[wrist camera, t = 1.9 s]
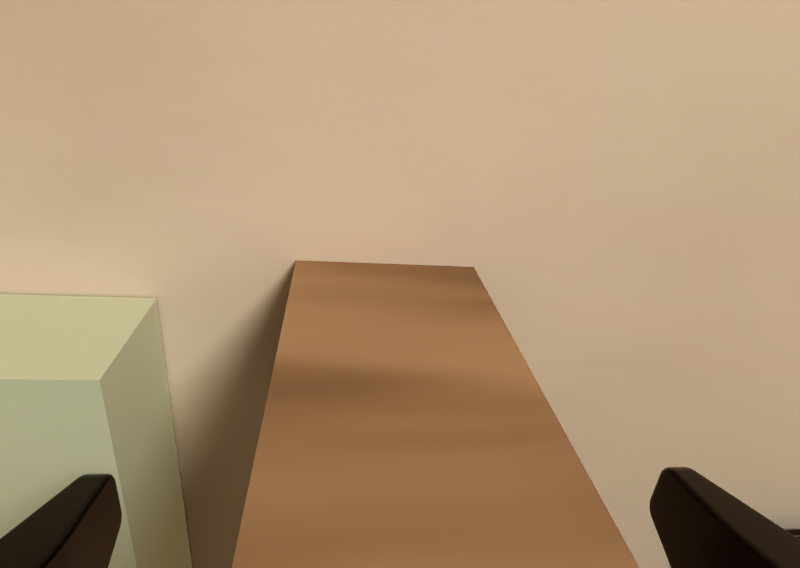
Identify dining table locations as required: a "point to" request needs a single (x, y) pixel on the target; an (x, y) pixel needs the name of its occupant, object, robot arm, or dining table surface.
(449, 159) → the dining table surface
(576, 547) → the walnut block
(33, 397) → the block
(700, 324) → the dining table surface
